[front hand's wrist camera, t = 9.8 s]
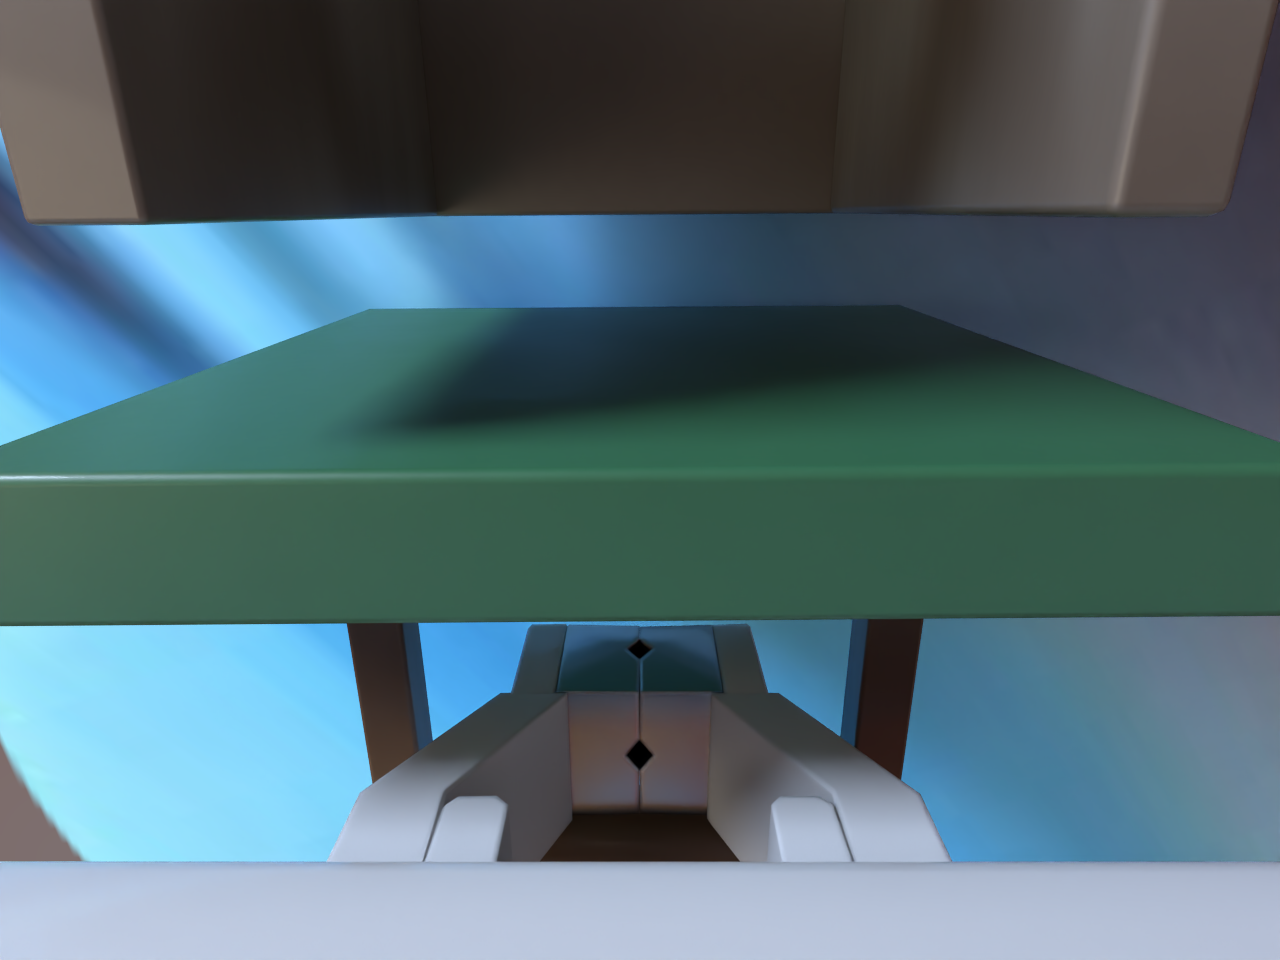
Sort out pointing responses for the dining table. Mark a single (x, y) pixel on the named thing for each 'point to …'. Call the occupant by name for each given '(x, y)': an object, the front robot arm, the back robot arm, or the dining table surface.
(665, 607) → the drawer
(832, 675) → the dining table surface
